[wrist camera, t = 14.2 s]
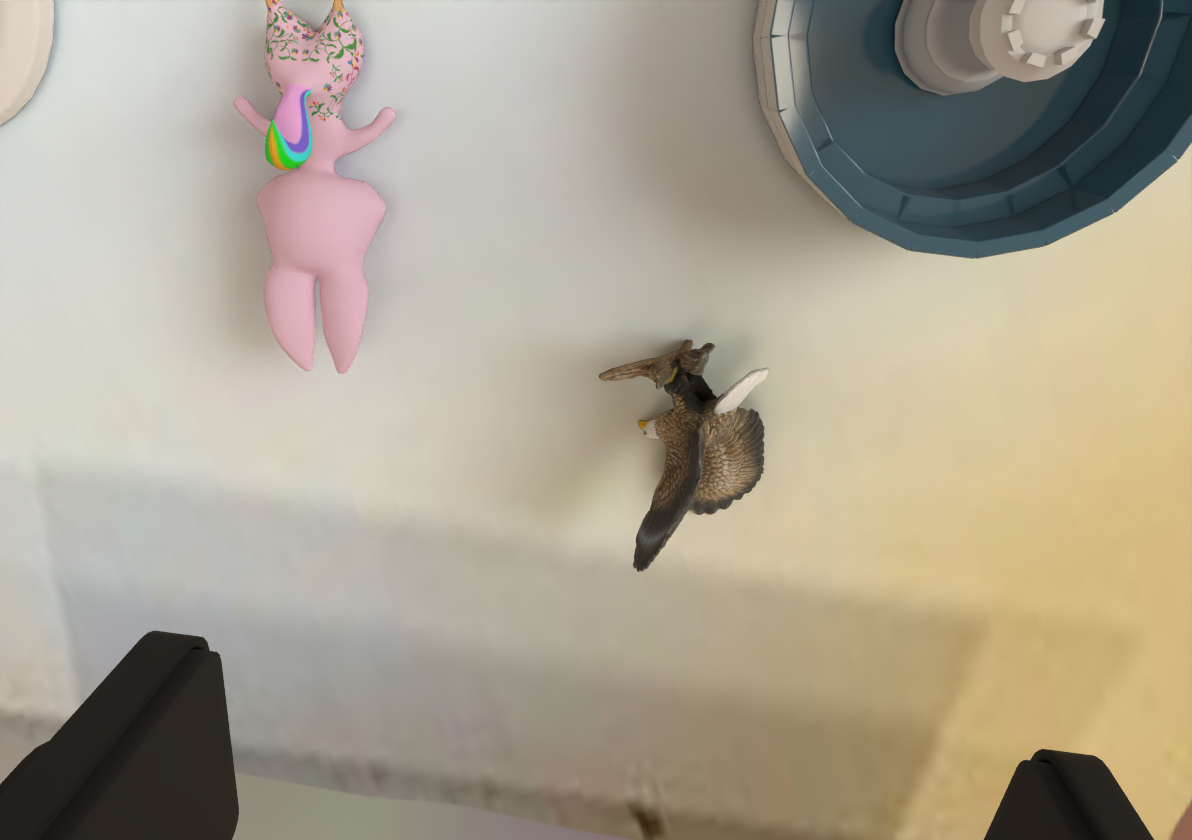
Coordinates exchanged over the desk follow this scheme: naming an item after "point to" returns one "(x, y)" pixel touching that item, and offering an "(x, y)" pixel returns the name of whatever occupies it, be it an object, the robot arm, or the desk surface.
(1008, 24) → the rook chess piece
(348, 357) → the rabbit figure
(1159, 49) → the bowl
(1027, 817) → the robot arm
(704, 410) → the eagle figurine
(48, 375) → the desk surface
